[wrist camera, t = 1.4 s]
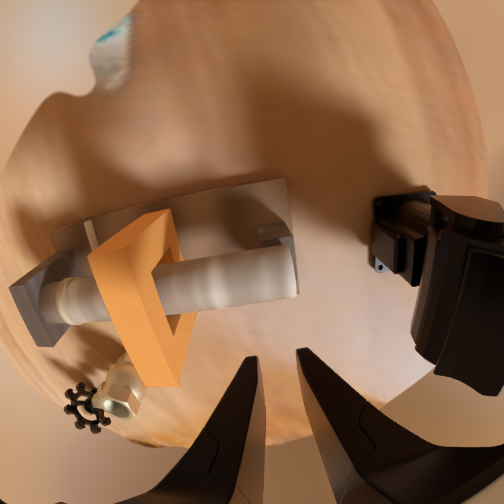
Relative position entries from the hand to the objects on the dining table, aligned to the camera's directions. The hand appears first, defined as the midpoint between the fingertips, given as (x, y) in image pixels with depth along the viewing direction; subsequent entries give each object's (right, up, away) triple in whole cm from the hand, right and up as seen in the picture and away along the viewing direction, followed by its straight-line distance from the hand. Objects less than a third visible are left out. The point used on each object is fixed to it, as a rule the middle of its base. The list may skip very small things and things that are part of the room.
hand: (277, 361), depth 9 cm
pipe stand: (-8, +3, +12) cm, 15 cm away
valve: (-16, -10, +18) cm, 26 cm away
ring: (-7, +3, +11) cm, 13 cm away
